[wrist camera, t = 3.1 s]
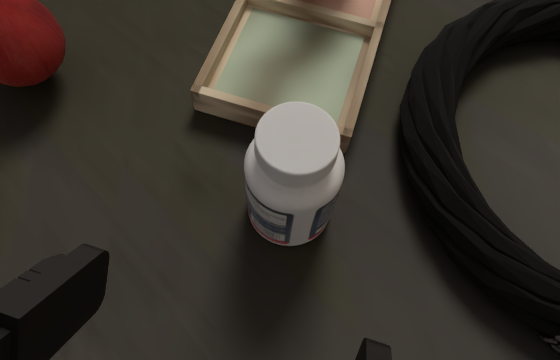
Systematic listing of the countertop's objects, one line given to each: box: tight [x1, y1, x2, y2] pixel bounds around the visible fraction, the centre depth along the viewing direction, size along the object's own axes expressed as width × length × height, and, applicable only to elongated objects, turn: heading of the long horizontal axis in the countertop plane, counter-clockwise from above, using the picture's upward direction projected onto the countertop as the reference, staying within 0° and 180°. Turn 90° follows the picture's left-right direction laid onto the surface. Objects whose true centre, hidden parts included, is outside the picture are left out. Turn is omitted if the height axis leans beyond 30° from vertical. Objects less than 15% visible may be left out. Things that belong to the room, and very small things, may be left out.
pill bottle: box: [244, 102, 345, 246], centre depth 24 cm, size 5×5×9 cm
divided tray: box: [190, 0, 391, 154], centre depth 34 cm, size 11×20×2 cm, turn 162°
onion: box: [0, 0, 65, 87], centre depth 28 cm, size 6×6×8 cm
